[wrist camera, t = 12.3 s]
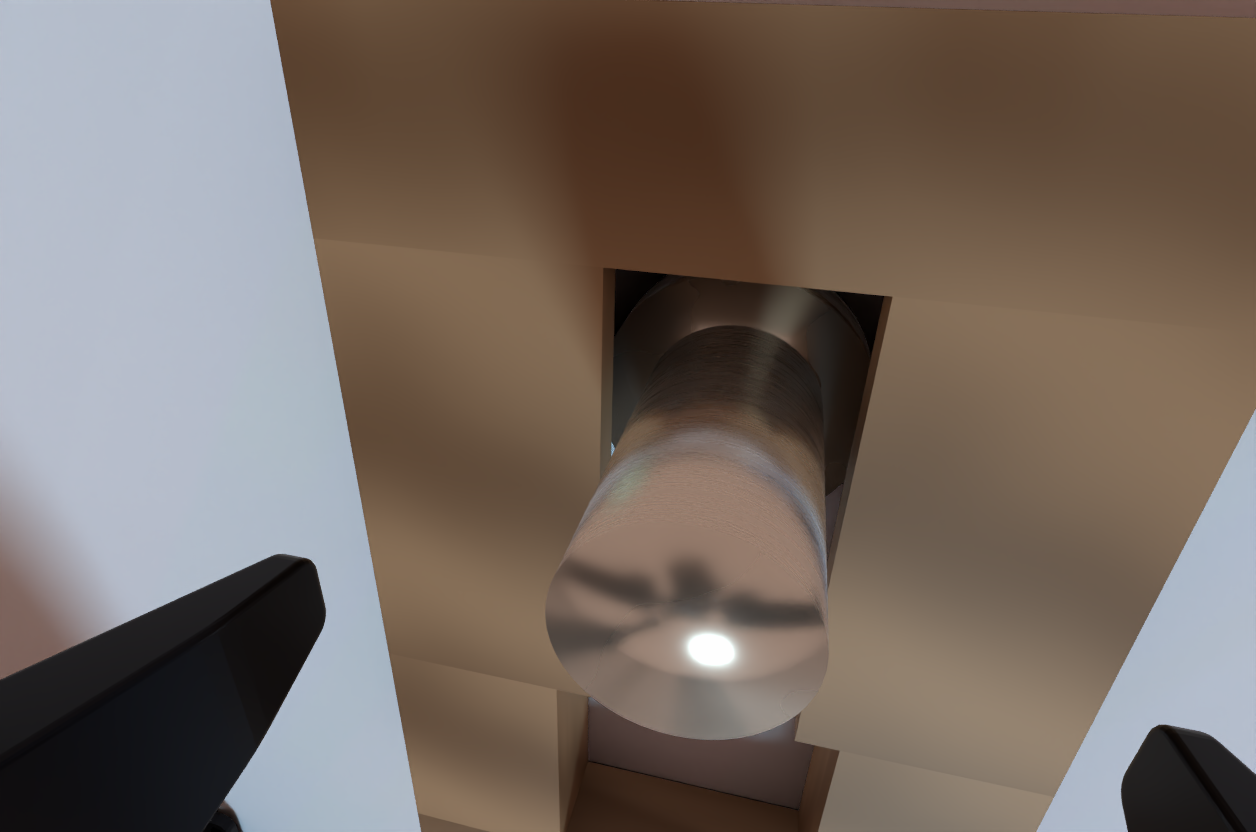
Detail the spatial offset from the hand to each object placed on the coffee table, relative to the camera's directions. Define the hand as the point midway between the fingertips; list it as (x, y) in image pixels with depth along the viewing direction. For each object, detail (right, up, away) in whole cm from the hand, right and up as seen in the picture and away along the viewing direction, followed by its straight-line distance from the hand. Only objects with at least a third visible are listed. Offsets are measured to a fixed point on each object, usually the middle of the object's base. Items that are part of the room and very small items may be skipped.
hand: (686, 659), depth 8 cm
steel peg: (+2, +3, +6) cm, 7 cm away
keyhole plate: (+1, 0, +8) cm, 8 cm away
